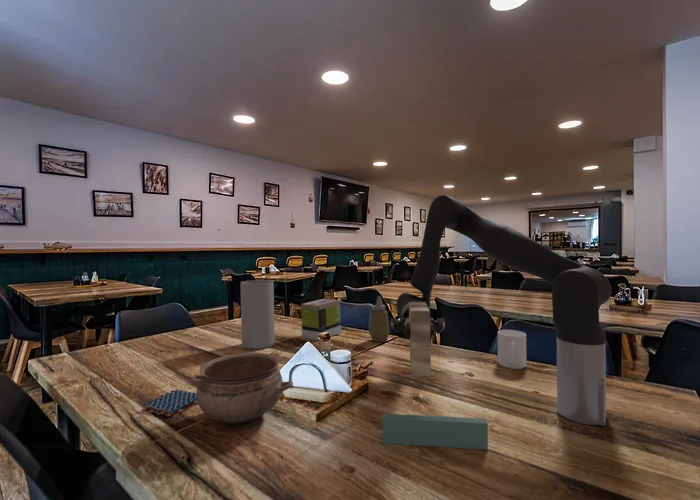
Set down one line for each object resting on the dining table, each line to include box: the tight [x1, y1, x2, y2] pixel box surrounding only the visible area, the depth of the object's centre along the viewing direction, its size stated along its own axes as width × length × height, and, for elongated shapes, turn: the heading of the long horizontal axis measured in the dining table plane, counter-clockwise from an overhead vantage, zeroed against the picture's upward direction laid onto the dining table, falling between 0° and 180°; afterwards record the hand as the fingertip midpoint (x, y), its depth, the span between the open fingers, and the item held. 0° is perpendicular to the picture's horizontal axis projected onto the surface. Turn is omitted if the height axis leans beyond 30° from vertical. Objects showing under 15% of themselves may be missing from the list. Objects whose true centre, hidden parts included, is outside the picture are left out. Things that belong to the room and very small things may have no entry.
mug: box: [497, 329, 527, 370], centre depth 111 cm, size 12×8×10 cm
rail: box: [381, 413, 489, 451], centre depth 70 cm, size 20×2×5 cm, turn 82°
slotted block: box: [409, 302, 432, 377], centre depth 82 cm, size 12×4×14 cm, turn 172°
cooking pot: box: [190, 352, 294, 426], centre depth 81 cm, size 25×19×12 cm
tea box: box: [300, 298, 342, 341], centre depth 152 cm, size 15×10×15 cm, turn 144°
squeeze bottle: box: [369, 295, 390, 343], centre depth 142 cm, size 8×8×18 cm
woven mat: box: [142, 389, 198, 418], centre depth 88 cm, size 10×11×2 cm
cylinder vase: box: [240, 279, 276, 350], centre depth 139 cm, size 12×12×25 cm
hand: (419, 332), depth 79 cm, fingers closed on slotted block, 4 cm apart
